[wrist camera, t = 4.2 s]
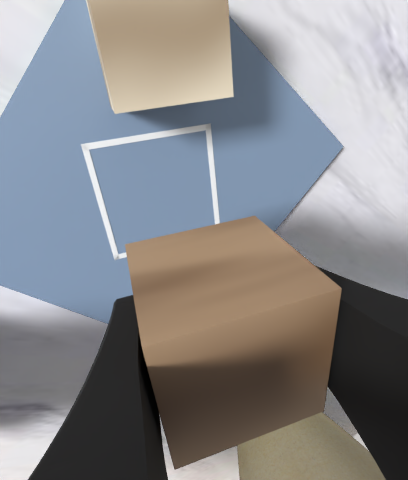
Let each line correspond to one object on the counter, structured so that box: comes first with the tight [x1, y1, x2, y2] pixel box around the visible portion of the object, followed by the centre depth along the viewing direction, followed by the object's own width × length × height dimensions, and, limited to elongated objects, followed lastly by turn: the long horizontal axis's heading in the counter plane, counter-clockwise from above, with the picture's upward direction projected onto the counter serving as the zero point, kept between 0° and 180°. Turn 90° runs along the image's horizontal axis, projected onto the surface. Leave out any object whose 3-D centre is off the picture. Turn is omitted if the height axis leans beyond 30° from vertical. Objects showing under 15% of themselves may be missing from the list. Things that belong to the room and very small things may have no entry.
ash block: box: [86, 0, 234, 114], centre depth 12 cm, size 4×4×4 cm
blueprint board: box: [0, 0, 343, 324], centre depth 18 cm, size 18×16×1 cm
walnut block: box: [125, 216, 342, 469], centre depth 9 cm, size 4×4×4 cm
